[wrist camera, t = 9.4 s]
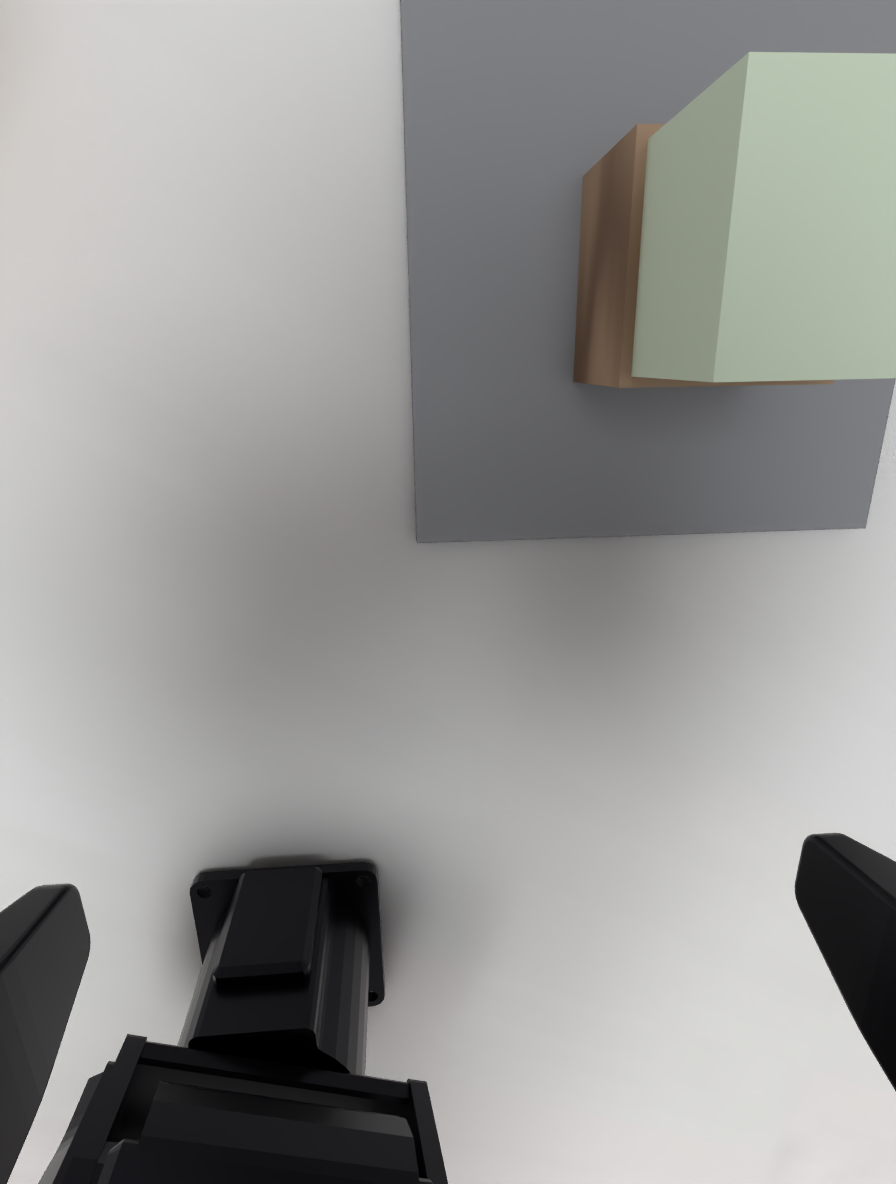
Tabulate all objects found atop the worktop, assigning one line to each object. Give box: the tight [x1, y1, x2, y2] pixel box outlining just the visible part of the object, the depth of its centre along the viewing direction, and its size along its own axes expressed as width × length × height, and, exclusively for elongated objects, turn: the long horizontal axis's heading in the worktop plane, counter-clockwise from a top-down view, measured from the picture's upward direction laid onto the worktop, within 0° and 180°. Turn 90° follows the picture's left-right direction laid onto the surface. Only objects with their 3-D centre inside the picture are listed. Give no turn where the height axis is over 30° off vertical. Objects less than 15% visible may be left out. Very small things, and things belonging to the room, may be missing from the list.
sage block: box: [631, 52, 896, 382], centre depth 12 cm, size 4×4×4 cm
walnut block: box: [573, 124, 834, 388], centre depth 16 cm, size 5×5×4 cm
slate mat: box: [400, 0, 896, 543], centre depth 18 cm, size 14×14×1 cm
